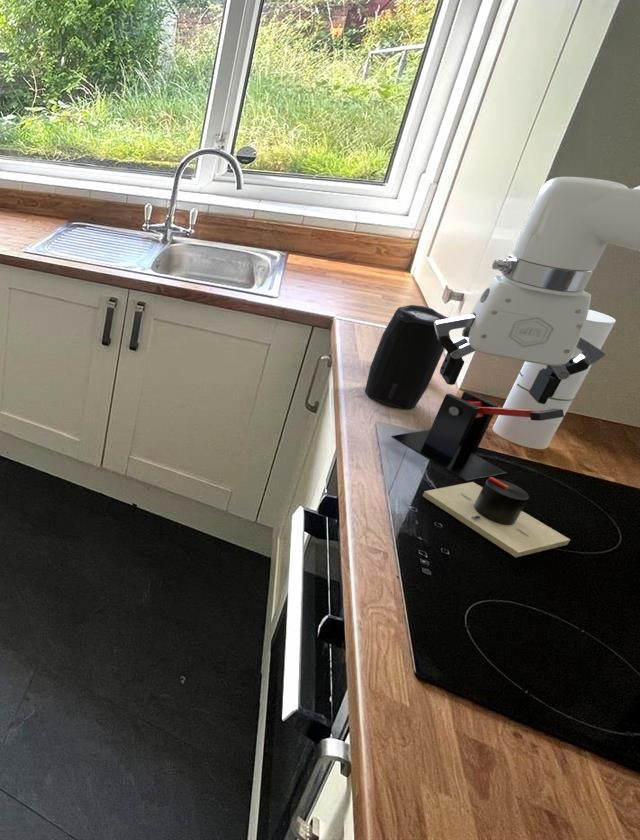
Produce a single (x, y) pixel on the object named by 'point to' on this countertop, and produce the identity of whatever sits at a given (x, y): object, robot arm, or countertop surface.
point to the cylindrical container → (519, 397)
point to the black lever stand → (455, 438)
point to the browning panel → (510, 538)
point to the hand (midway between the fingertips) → (490, 389)
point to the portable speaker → (405, 358)
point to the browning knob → (501, 501)
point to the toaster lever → (519, 412)
